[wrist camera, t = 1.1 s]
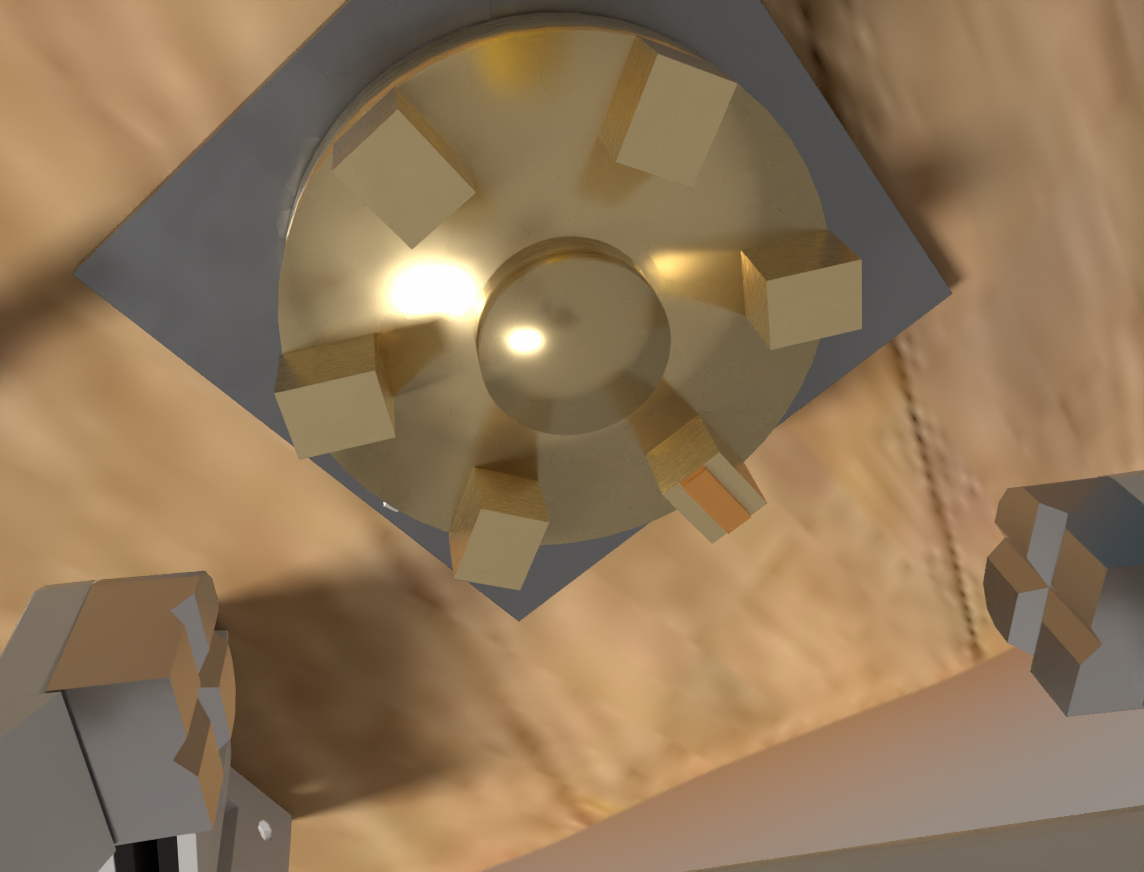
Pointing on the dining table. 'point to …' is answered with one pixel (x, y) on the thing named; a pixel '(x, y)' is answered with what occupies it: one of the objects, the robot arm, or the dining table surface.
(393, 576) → the dining table surface
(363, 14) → the base plate
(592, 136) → the gold radial fin assembly
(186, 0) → the dining table surface
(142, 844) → the grey and black block
